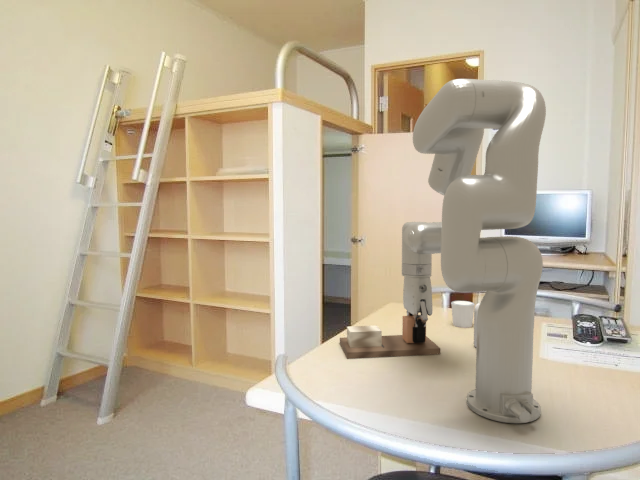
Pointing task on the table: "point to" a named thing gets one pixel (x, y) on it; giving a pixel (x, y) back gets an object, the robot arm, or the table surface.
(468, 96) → the robot arm
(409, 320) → the stub
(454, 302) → the white cup
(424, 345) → the ticket board
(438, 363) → the table surface
